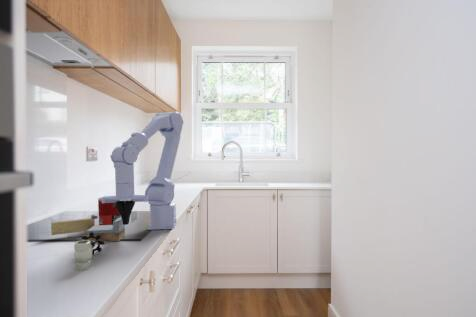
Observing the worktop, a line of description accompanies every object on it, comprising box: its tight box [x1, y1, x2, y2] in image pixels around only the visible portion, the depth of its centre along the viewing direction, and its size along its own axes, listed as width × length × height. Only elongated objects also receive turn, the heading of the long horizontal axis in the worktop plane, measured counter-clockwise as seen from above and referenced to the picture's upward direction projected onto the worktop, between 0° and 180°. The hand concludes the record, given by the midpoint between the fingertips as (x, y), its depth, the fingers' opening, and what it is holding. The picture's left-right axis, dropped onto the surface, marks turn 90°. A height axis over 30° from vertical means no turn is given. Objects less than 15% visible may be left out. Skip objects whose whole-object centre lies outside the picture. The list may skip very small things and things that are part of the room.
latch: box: [50, 214, 99, 236], centre depth 104 cm, size 2×14×5 cm, turn 116°
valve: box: [73, 232, 106, 271], centre depth 80 cm, size 7×7×12 cm
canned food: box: [97, 196, 121, 225], centre depth 118 cm, size 8×8×11 cm
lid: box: [85, 218, 126, 235], centre depth 101 cm, size 10×7×4 cm, turn 95°
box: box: [85, 227, 126, 243], centre depth 101 cm, size 10×7×3 cm
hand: (126, 224), depth 100 cm, fingers closed
